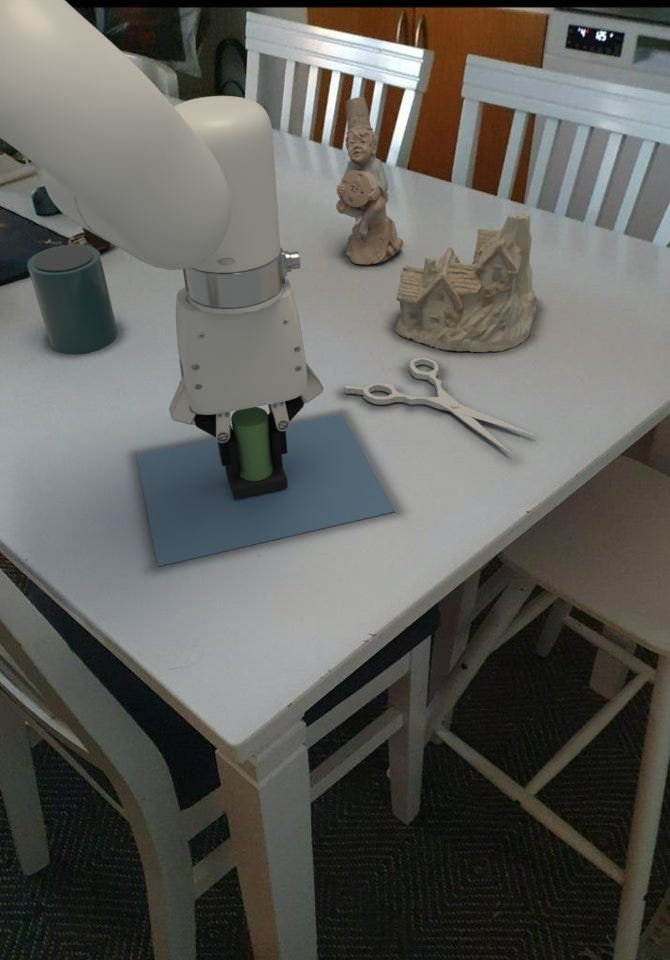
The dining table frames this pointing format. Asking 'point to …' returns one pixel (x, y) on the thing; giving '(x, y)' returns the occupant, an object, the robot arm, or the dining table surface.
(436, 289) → the ceramic cottage
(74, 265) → the teal cylinder
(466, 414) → the scissors
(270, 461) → the stamp
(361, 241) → the figurine
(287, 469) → the napkin
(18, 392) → the dining table surface
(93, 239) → the compass
